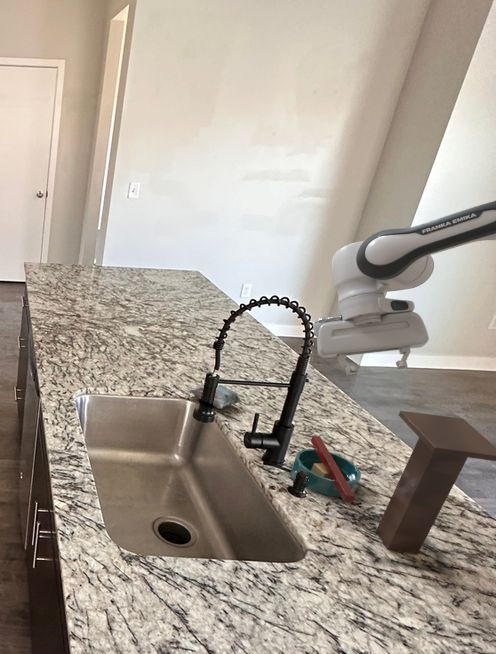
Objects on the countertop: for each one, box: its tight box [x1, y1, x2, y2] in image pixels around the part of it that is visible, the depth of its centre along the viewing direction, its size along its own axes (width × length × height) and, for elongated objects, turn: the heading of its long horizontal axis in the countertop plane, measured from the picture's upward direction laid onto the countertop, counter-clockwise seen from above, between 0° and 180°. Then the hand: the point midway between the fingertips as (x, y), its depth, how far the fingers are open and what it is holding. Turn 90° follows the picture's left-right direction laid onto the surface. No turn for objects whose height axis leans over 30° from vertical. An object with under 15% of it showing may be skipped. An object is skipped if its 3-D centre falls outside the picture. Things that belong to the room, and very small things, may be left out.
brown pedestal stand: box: [375, 410, 496, 556], centre depth 96 cm, size 12×12×26 cm
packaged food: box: [186, 383, 243, 410], centre depth 149 cm, size 9×12×5 cm
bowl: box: [290, 448, 362, 498], centre depth 117 cm, size 12×12×5 cm
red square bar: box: [310, 434, 356, 504], centre depth 115 cm, size 2×22×2 cm, turn 166°
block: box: [311, 463, 332, 480], centre depth 118 cm, size 4×4×4 cm
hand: (376, 371), depth 118 cm, fingers open, 8 cm apart
